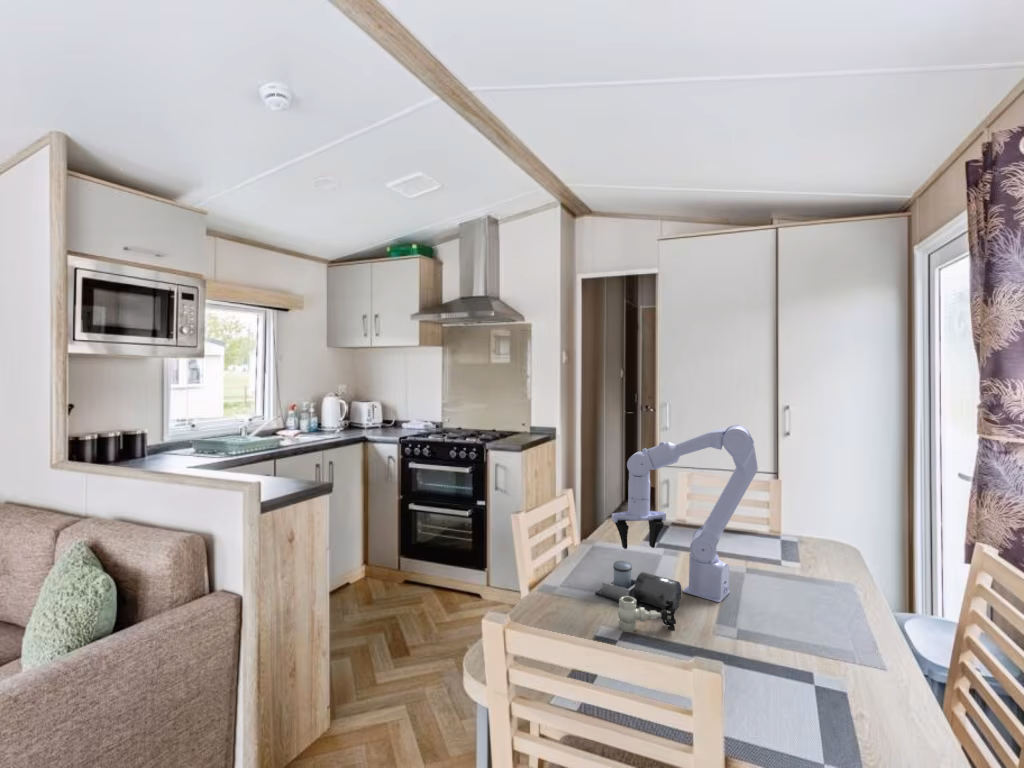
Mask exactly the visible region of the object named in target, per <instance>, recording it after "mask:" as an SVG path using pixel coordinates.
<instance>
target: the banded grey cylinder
mask: <svg viewBox="0 0 1024 768" xmlns="http://www.w3.org/2000/svg"><path fill="white" fill-rule="evenodd" d="M612 569H613V581H614V585H617V586H620V587H624V588H627V589H628V588H630V587H631V578H632V570H633V566H632V563H631V562H629V561H628V560H615V561H614V562H613V568H612Z"/></svg>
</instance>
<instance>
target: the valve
mask: <svg viewBox="0 0 1024 768" xmlns="http://www.w3.org/2000/svg"><path fill="white" fill-rule="evenodd" d="M666 604H668V606H664V607H662V608H661V610H660V611H658V612H657V610H649V611H648V610H647V609H645V607H642V606H638V608H637V603H636V599H635V598H633V597H630V596H623V597H621V598H620V599H619V603H618V607H619V608H618V612H617V615H618V619H619V620H618V628H619V629H620V630H622V631H623V632H634V631H635V630H636V629H637V621H639V622H641V623H643V622H644V623H645V621H646V620H647V619H651V620H657V618H660V620H661V621H662V623H663V624H664V625H665V626H666V627H667V630H668V631H670V632H675V631H676V626H675V625H676V624H677V619H676V618H675V614H676V611H675V608H673V601H671V600H666Z"/></svg>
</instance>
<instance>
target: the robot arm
mask: <svg viewBox="0 0 1024 768" xmlns="http://www.w3.org/2000/svg"><path fill="white" fill-rule="evenodd" d="M754 442H755V441H754V439H753V437H752V436H751V434H750V431H749V430H748V429H747V428H746V427H745V426H743V425H740V424H733V425H730V426H728V427H721V428H717V429H714V430H710V431H707V432H705V433H702V434H699V435H697V436H694V437H692V438H689V439H686V440H684V441H682V442H679V443H677V444H676V443H673V442H671V441H667V442H665V440H662V441H660V442H659V443H658V445H655V446H653V447H650V448H648V449H647V448H646V447H645V448H642V449H641V450H642V451H637V452H635V453H634V454H632V455H631V456H630V457H629V458H628V460H627V462H626V467H627V471H628V482H627V483H628V485H627V486H628V490H627V491H628V492H627V493H628V496H627V497H628V499H627V511H621V512H613V513H611V521H612V522H613V523H614V524H615V527H616V528H617V531H618V533H619V537H620V541H621V547H622V549H624V550H627V549H628V534H629V527H630V526H629V525H628V523H627V522H642V521H648V530H649V538H648V543H649V547H651V548H652V549H654V548H655V547H656V543H657V540H658V537H659V535H660V532H661V531H662V529H663V528H664V522H663V521H665V522H666V521H667V513H666V512H665V511H654V510H651V477H650V476H651V471H656V470H658V469H661V468H664V467H665V468H666V467H667V466H670V465H674V464H677V463H678V462H679V459H680V457H681V456H685V455H688V454H691V453H695V452H697V451H701V450H705V449H707V448H711V449H712V448H713V449H716V450H720V451H721V450H722V449H723V447H724V449H725V450H726V452H727V453H728V454H729V455H730V456H731V457H732V460H733V463H734V465H735V469H733V470H734V471H733V472H732V474H731V475H730V477H729V479H728V481H727V482H726V485H725V486H724V488H723V490H722V492H721V494H720V496H719V497H718V499H717V501H716V503H715V505H714V506H713V508H712V509H711V512H710V513H709V516H708V517H707V518H706V520H705V521H704V523H703V524H702V525H701V527H699V528H698V529H696V530H695V531H694V533H693V534H692V541H691V542H690V547H689V555H688V556H689V557H688V558H689V559H688V562H689V563H688V565H689V567H688V585H687V586H686V587H685V588H683V589H682V592H683V593H685V594H689V595H692V596H695V597H699V598H702V599H704V600H705V599H706V600H709V601H713V602H716V603H721V602H722V601H723V600H724V599H725V598H726V597H727V596H728V595H729V594H730V593H731V591H730V566H729V563H726V562H724V561H722V560H721V559H720V556H719V555H718V554H717V550H718V548H717V546H718V544H719V542H720V540H721V537H722V535H723V533H724V531H725V529H726V527H727V525H728V524H729V522H730V520H731V518H732V516H733V515H734V513H735V511H736V509H737V508H738V505H739V504H740V503H741V501H742V498H743V497H744V495H745V494H746V492H747V490H748V488H749V487H750V485H751V483H752V481H753V480H754V478H755V476H756V474H757V473H758V468H759V466H758V461H757V456H756V448H755V443H754ZM655 549H656V548H655Z"/></svg>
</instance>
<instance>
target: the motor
mask: <svg viewBox="0 0 1024 768" xmlns="http://www.w3.org/2000/svg"><path fill="white" fill-rule="evenodd" d="M682 592H683V589H682V585H681V583H680V581H678V580H674V579H670V578H666V577H663V576H659V575H656V574H652V573H648V572H645V571H642V572H640V573H639V574H638V575H637V577H636V578H634V577H631V587H630V588H628V589H627V588H624V587H620V586H617V585H614V580H613V581H612V582H607V581H602V583H601V588H600V589H598V590H597V591H596V592H595V596H597V597H599V598H602V599H606V600H609V601H612V602H615V603H618V604H619V599H620V598H621V597H623V596H630V597H633V598H635V599H636V604H637V603H639V602H641V603H644V604H646V605H649V606H654V607H657V608H659V609H662V607H664V606H668V604H666V600H671V601H673V608H675V612H676V611H677V609H678V608H679V606H680V603H681V599H682Z"/></svg>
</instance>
